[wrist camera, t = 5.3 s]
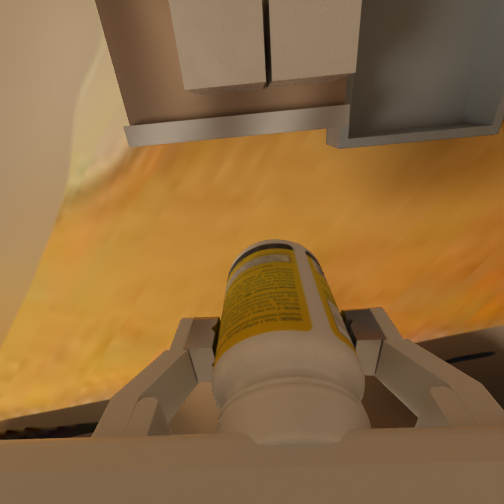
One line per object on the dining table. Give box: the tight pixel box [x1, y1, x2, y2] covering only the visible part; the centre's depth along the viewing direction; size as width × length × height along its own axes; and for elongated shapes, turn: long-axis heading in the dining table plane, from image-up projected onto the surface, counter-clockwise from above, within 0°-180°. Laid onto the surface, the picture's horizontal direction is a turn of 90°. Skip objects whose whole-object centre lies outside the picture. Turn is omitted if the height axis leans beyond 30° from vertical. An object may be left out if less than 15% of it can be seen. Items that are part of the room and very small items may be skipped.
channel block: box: [95, 0, 350, 147], centre depth 16 cm, size 14×9×5 cm, turn 95°
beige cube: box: [263, 0, 362, 89], centre depth 13 cm, size 4×4×4 cm
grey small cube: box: [168, 0, 266, 95], centre depth 13 cm, size 4×4×4 cm
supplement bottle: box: [212, 239, 371, 445], centre depth 10 cm, size 5×5×8 cm
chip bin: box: [326, 0, 504, 149], centre depth 17 cm, size 11×12×3 cm
